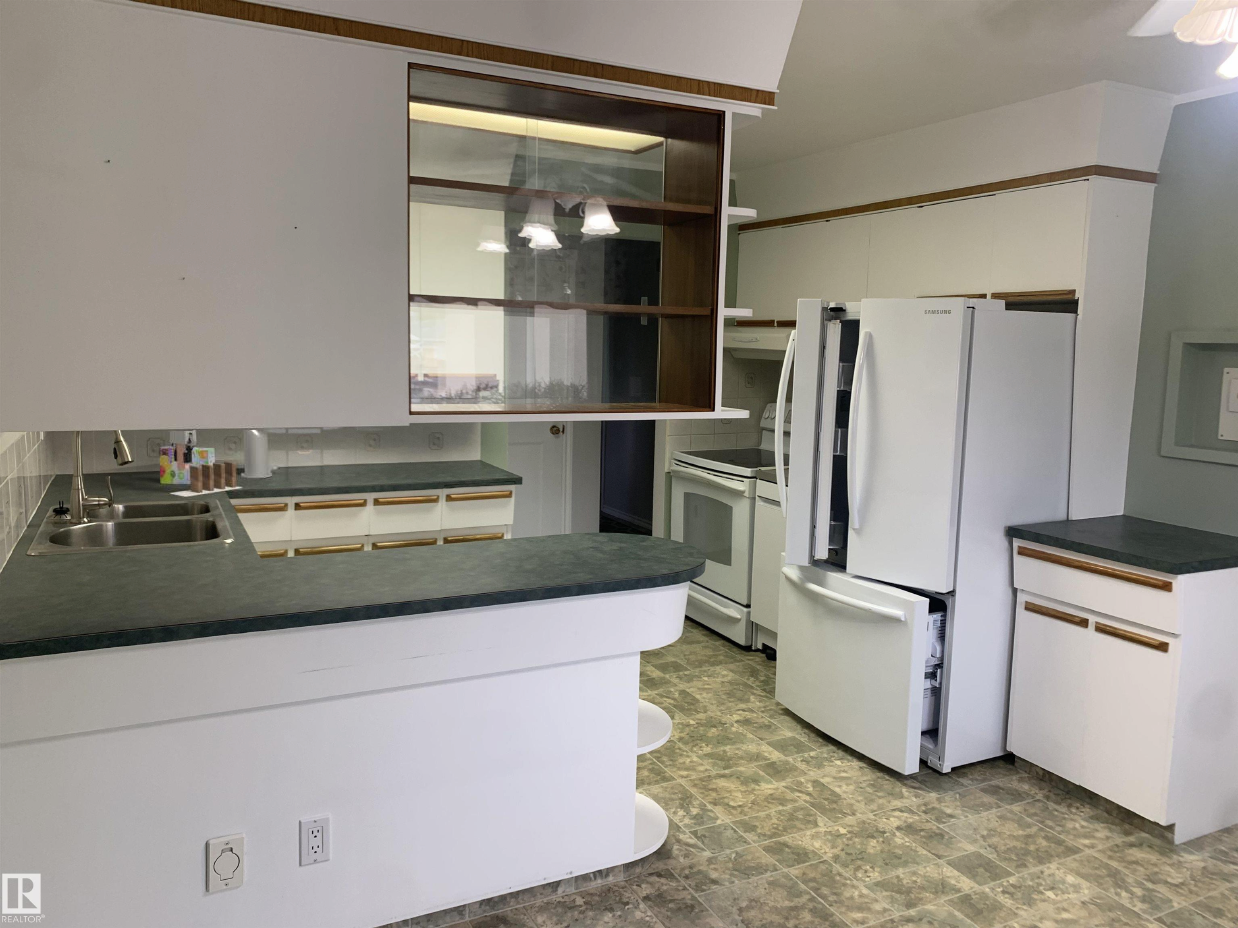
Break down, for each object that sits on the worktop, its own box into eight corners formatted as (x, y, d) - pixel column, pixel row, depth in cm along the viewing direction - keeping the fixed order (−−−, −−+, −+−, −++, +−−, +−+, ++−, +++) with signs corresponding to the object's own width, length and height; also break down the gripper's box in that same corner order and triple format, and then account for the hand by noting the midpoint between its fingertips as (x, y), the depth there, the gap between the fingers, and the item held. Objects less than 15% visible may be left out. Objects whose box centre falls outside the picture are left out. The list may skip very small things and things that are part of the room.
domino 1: (181, 466, 339) (180, 440, 337) (189, 468, 336) (188, 442, 335) (177, 467, 337) (176, 441, 336) (185, 468, 335) (184, 442, 334)
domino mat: (226, 485, 360) (226, 484, 360) (243, 488, 355) (242, 487, 355) (169, 494, 339) (169, 493, 339) (185, 497, 334) (185, 496, 334)
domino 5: (228, 485, 358) (227, 461, 356) (236, 487, 355) (235, 462, 354) (224, 486, 356) (224, 461, 355) (232, 487, 354) (232, 463, 352)
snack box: (216, 484, 363) (215, 447, 361) (208, 486, 358) (207, 449, 355) (167, 481, 365) (166, 445, 363) (159, 483, 360) (157, 447, 357)
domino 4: (217, 487, 353) (216, 462, 352) (225, 488, 351) (224, 464, 350) (213, 487, 352) (212, 463, 351) (221, 489, 350) (220, 464, 348)
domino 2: (194, 490, 345) (193, 465, 343) (202, 492, 342) (201, 467, 341) (190, 491, 344) (189, 466, 342) (198, 493, 341) (197, 467, 340)
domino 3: (206, 489, 349) (205, 464, 348) (214, 490, 347) (213, 465, 345) (202, 489, 348) (201, 464, 346) (210, 491, 345) (209, 466, 344)
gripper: (204, 415, 333) (206, 463, 336) (176, 412, 341) (178, 458, 344) (186, 416, 327) (187, 465, 329) (158, 413, 335) (160, 460, 338)
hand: (183, 461), depth 337 cm, fingers closed on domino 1, 4 cm apart
